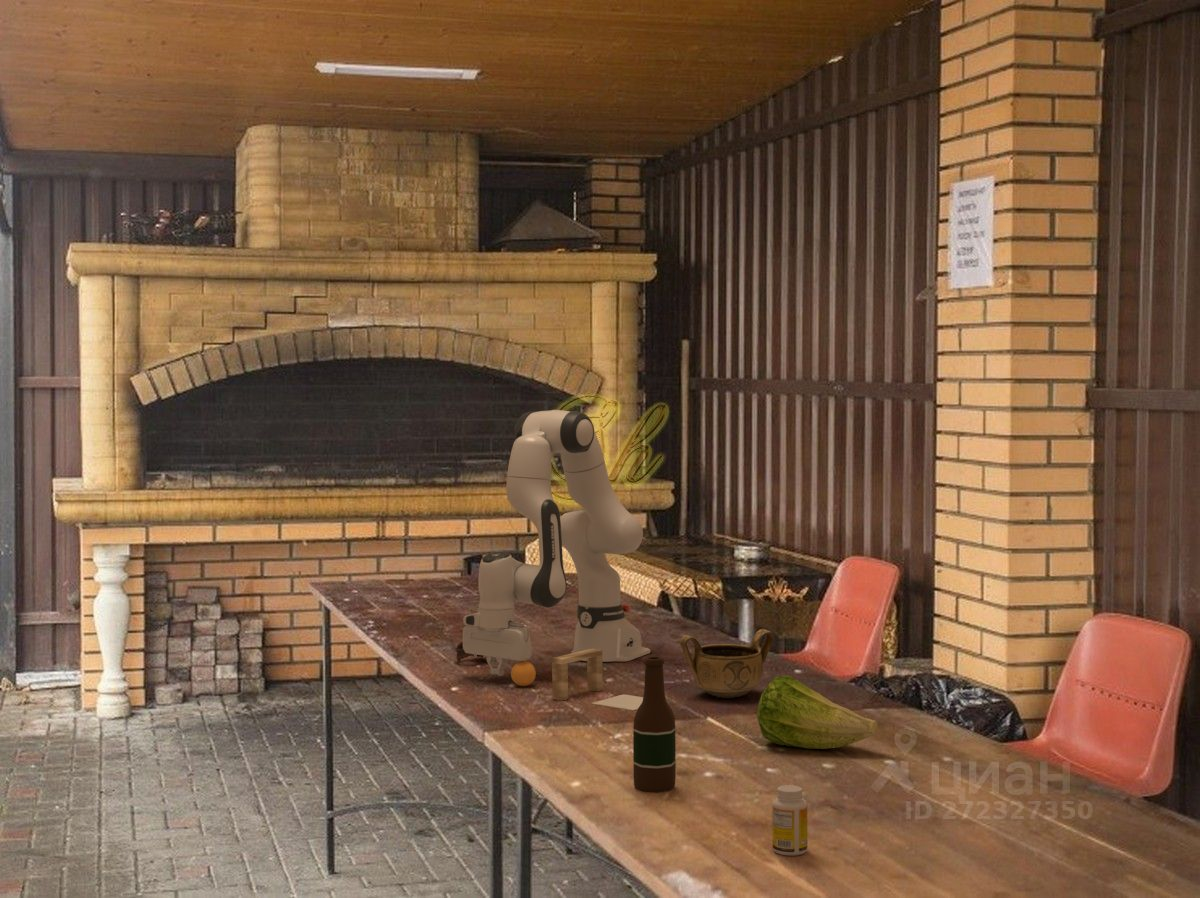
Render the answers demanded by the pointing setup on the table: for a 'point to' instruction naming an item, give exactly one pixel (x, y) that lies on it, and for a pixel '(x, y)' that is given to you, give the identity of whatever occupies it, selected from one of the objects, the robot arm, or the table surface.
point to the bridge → (562, 672)
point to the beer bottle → (654, 734)
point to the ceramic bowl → (728, 665)
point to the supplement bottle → (789, 821)
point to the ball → (523, 673)
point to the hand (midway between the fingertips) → (497, 675)
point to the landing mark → (622, 702)
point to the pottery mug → (463, 652)
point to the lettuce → (807, 717)
